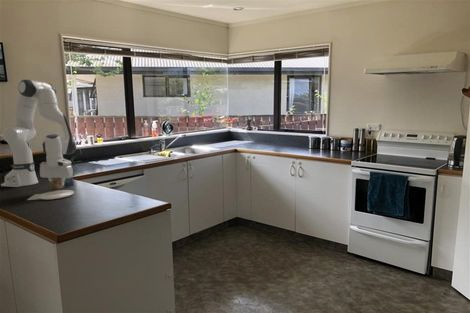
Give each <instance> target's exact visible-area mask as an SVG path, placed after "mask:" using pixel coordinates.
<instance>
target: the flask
mask: <svg viewBox="0 0 470 313" xmlns="http://www.w3.org/2000/svg"><path fill="white" fill-rule="evenodd" d="M57 179H61V178H57ZM71 186H74V180H73V177H71V178H65V181H64V187H63V188H67V187H71Z"/></svg>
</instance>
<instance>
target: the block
mask: <svg viewBox="0 0 470 313" xmlns="http://www.w3.org/2000/svg"><path fill="white" fill-rule="evenodd" d="M61 181H62V180H61V179H58V178H54V179H52V180H50V181H49V183H50V182H51V183H50V189H51V190H60V189H63V188H65V187H64V185H60V182H61Z"/></svg>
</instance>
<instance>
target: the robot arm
mask: <svg viewBox="0 0 470 313" xmlns="http://www.w3.org/2000/svg"><path fill="white" fill-rule="evenodd" d="M18 92H19V95H18V97H17V100H16V104H15V108H14V114H13V116H14V117H15V119H16V121H15V122H16V124H15V125H12V126H8V127H7V128H5V129H4V130H3V131H2V138H3V140H4V141H5V142H7V144H8V146H9V148H10V150H11V152H12V159H13V164H11V165H10V168H12V169H11V170H10V171H9V172H8V173H7V174H6V175H4V182H3V183H1V184H0V186H1V187H10V188H11V187H12V188H19V187H24V186H31V185H35V184H38V183H39V180H38V177H37V174H36V170H35V166H36V165H35V162H34V159H33V158H34V157H33V150H32V149H31V148H30V147H29V145H28V142H29V141H31V140H33V139H34V138H35V137H36V135H37V129H35V126H34V118H35V112H36V108H37V107H38V113H39V115H40V116H41V117H42V118H43V119H44V120H47V121H49V122H53V123H57V124H58V125H60V126H61V128H62V130H63V134H64V137H65V138H61V137H60V135H58V134H55V133H51V134H48V135H45V138H44V141H43V142H42V144H41V145H42V150H43V151H42V153H44V154H45V155H46V157H45V159H46V161H42V162H40V163H39V176H40V178H45V179H46V178H48V181H49V183H50V184H51V182H50V180H53V178H54V179H58V178H61V180H62V181H61V182H60V185H64V181H65V178H71V177H73V176H74V169H73V166H72V161H71V160H70V159H67V158H64V155H72V154H74V153H75V152H76V151H77V143H76V141H75V138H74V137H73V134H72V130H71V127H70V124H69V121H68V119H67V116H66V114H65V113H63V112H62V111H61V110H60V108H59V102H58V97H57V89H56V87H55V85H54V84H51V83H47V82H44V81H40V80H32V79H22V80H21V81H19V84H18Z"/></svg>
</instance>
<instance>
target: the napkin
mask: <svg viewBox="0 0 470 313" xmlns="http://www.w3.org/2000/svg"><path fill="white" fill-rule="evenodd" d="M41 194H42V193H34V194H33V195H32V196H29V198H27V199H26V200H27V201H33V200H35V201H36V200H41V199H40V198H39V195H41Z"/></svg>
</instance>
